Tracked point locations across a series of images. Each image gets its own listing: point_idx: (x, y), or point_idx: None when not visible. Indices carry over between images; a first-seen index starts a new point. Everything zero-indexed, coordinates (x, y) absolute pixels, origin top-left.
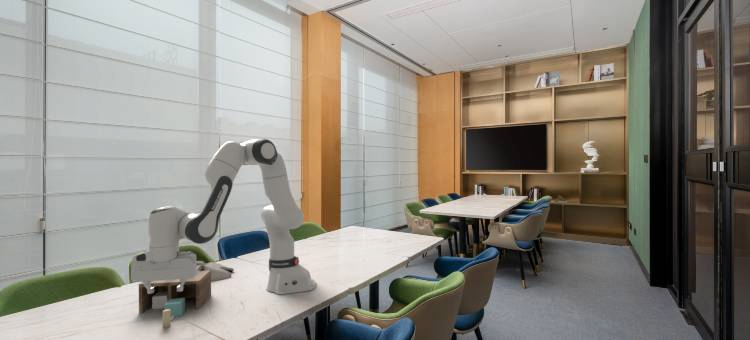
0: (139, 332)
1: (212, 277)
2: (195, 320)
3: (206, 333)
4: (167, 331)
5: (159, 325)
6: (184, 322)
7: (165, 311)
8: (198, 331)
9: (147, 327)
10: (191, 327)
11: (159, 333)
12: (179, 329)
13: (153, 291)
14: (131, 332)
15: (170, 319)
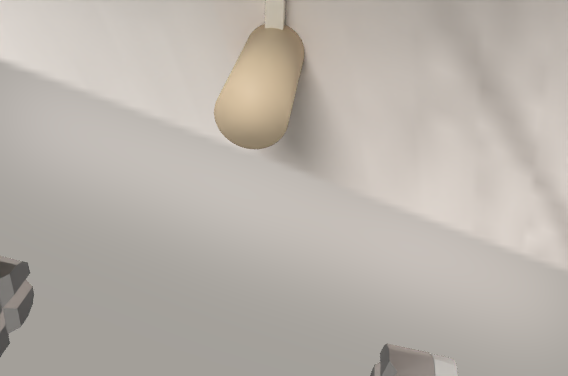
0: (103, 83)
1: None
2: (511, 16)
3: (560, 268)
4: (303, 145)
5: (207, 5)
6: (413, 24)
7: (247, 137)
8: (514, 225)
9: (121, 9)
10: (470, 147)
11: (256, 154)
12: (384, 146)
13: (18, 286)
14: (42, 60)
15: (298, 75)
